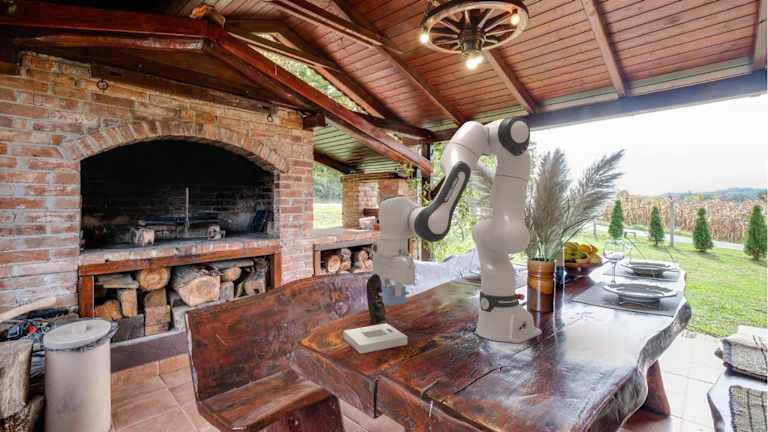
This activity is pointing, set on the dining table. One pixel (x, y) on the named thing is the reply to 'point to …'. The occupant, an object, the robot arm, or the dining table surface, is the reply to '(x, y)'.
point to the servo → (390, 298)
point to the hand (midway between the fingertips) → (392, 293)
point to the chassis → (374, 338)
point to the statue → (375, 301)
